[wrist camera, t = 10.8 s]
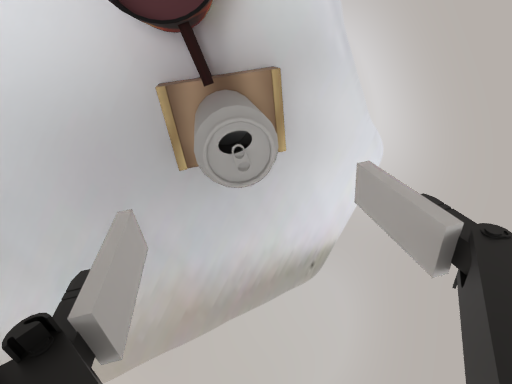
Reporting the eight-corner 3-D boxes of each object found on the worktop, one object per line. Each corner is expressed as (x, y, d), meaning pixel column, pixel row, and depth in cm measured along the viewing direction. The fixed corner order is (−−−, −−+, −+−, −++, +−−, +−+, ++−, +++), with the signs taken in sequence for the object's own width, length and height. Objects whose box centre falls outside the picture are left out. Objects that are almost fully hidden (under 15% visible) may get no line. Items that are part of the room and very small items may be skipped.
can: (246, 79, 31) (271, 95, 21) (263, 139, 35) (292, 178, 24) (184, 101, 31) (177, 128, 20) (208, 159, 35) (213, 207, 24)
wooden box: (180, 161, 37) (179, 170, 34) (159, 83, 32) (155, 87, 29) (279, 143, 39) (286, 150, 36) (273, 66, 34) (280, 68, 31)
